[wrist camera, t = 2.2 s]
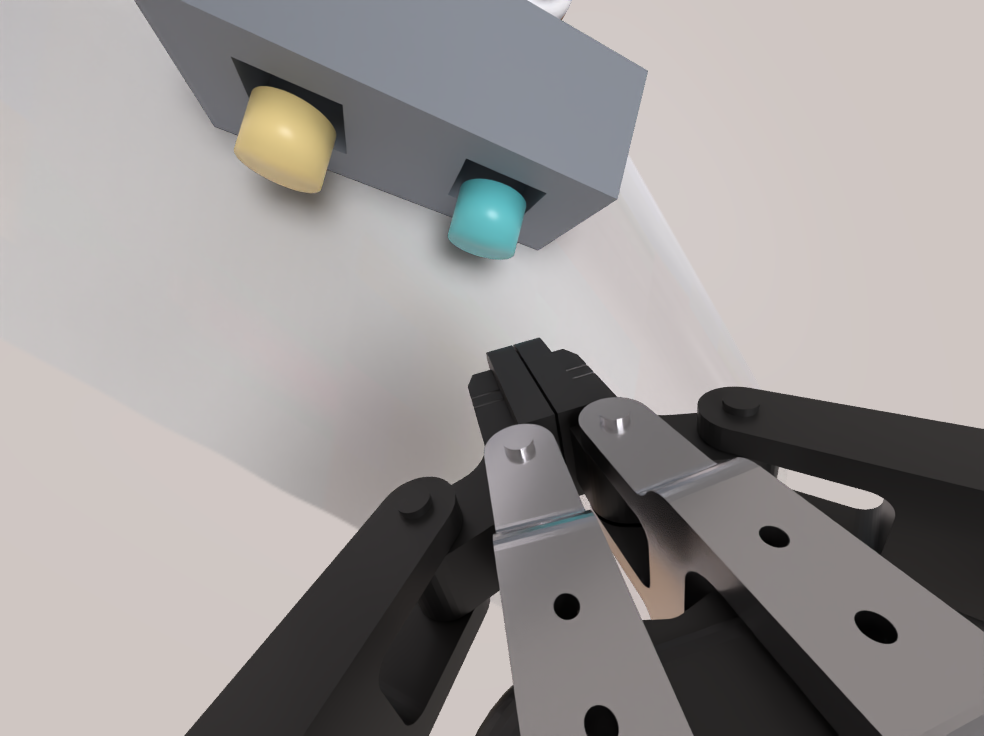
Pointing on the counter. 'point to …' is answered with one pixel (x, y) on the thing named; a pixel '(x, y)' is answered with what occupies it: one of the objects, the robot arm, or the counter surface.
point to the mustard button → (285, 140)
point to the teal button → (487, 219)
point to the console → (426, 93)
